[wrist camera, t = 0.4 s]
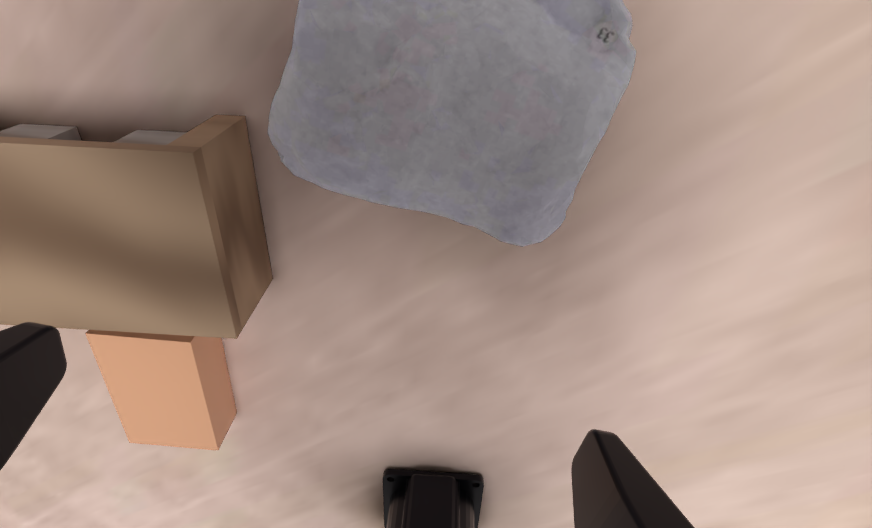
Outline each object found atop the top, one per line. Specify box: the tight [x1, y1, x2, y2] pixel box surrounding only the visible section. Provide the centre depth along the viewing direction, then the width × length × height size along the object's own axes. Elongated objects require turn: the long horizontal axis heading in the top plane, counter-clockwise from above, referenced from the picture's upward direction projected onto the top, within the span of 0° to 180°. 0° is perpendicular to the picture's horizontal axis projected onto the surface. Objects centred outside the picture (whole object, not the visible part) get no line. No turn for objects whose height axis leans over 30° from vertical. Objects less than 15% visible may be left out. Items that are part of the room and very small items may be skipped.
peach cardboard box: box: [85, 330, 237, 450], centre depth 26 cm, size 8×5×3 cm, turn 176°
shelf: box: [0, 115, 273, 339], centre depth 20 cm, size 8×12×4 cm, turn 88°
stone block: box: [268, 0, 636, 247], centre depth 18 cm, size 12×5×10 cm
